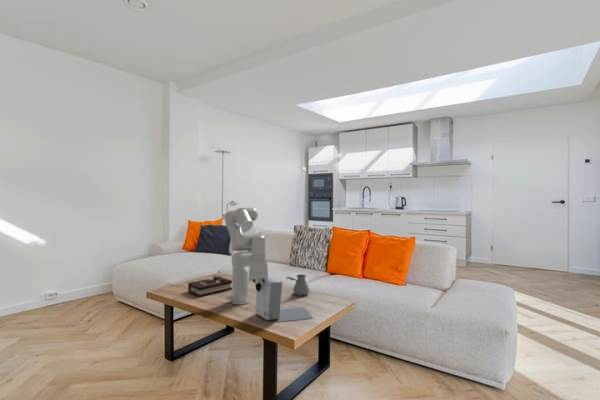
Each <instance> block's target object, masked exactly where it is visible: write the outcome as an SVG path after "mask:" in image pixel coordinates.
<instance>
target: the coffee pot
mask: <svg viewBox="0 0 600 400" xmlns="http://www.w3.org/2000/svg"><path fill="white" fill-rule="evenodd" d="M296 277H297V278H293V277H290V276H286V277H285V280H287V281H288V280H292V281H295V283H294V286H293V289H292V291H293V293H294V294H295V296H298V295H300V296H299V297H302V296H301V295H304V296H307V295H308V294H309V293H310V288H309V286H308V283H307V281H306V275H305V274H297V275H296ZM306 294H307V295H306Z"/></svg>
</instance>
